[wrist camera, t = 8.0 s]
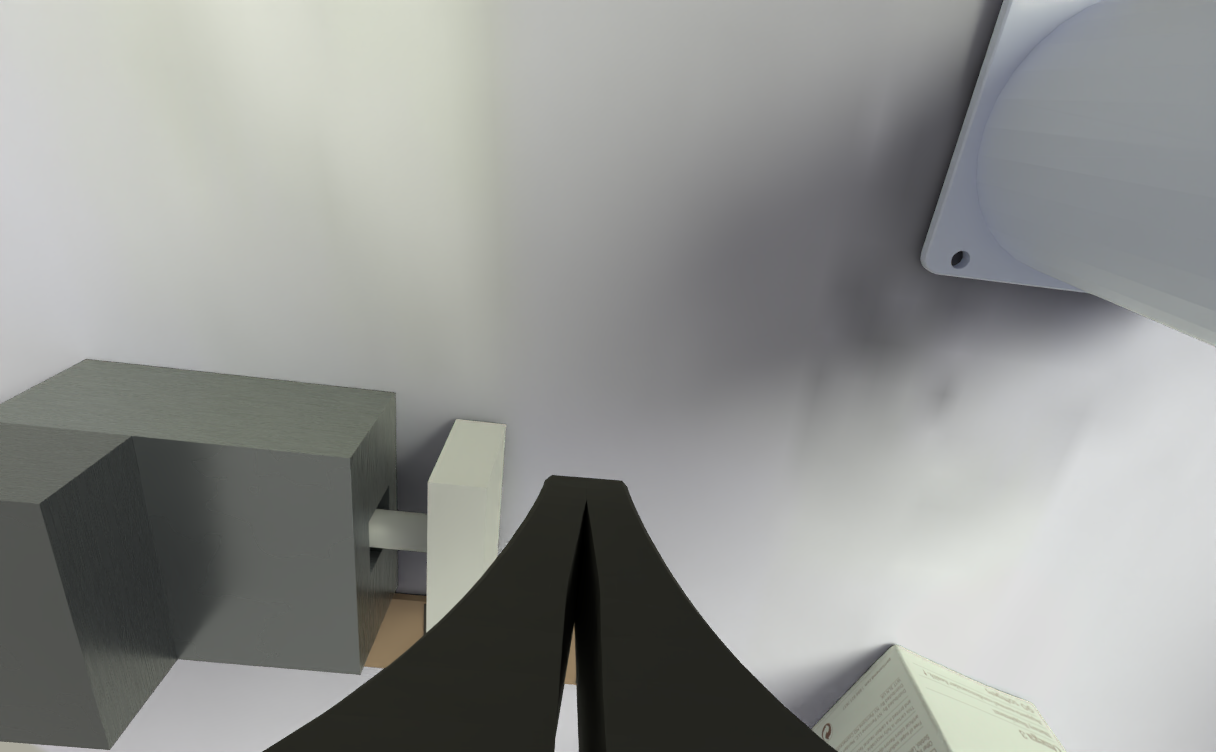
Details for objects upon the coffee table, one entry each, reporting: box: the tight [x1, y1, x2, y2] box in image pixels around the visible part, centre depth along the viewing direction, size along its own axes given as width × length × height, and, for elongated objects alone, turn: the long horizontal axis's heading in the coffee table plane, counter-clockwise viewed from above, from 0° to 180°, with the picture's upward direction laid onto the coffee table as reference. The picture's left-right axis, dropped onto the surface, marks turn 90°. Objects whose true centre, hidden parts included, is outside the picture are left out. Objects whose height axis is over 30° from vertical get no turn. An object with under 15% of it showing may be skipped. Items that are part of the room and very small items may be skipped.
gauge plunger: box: [369, 419, 506, 633], centre depth 21 cm, size 11×12×4 cm
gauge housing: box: [0, 359, 398, 750], centre depth 19 cm, size 10×8×7 cm
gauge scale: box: [364, 593, 577, 685], centre depth 25 cm, size 11×4×1 cm, turn 83°
